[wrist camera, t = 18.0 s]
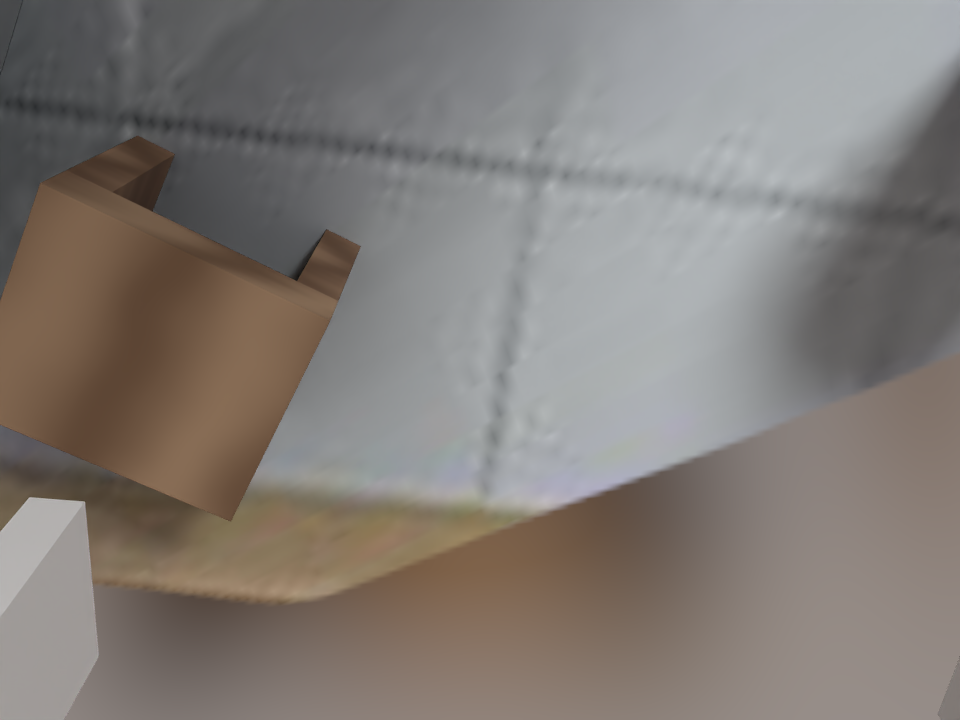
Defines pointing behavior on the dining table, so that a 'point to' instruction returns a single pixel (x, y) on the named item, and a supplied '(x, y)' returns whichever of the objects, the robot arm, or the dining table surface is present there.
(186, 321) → the wooden step bench
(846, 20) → the dining table surface
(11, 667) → the robot arm
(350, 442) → the dining table surface
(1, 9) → the grey lidded box
